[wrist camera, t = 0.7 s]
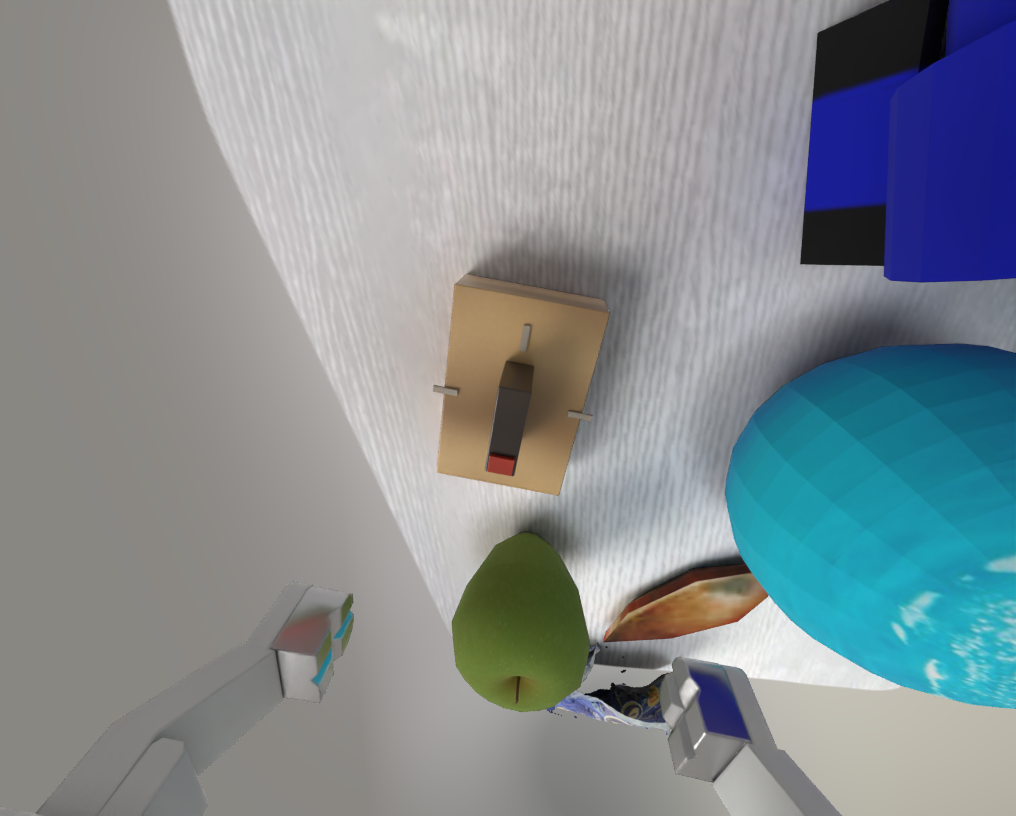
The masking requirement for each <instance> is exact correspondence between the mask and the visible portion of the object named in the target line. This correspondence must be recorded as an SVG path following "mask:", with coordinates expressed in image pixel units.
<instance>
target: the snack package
mask: <svg viewBox="0 0 1016 816" xmlns="http://www.w3.org/2000/svg"><path fill="white" fill-rule="evenodd" d="M600 648H601V647H600V645H599V644H598V642H597V645H596V646H592V647H590V650H589V655H588V659H587V664H586V667H585V671H584V675H583V678H582V682H583V681H584V680H585V679H586V677H587V675H588V673H589V672H590V671H591V669H592V667H593V664H594V659H595V654H597V653H598V652H599V651H600ZM606 648H608V647H607V646H606ZM600 657H601V656H600ZM622 658H624V656H622ZM625 671H626V670H623V671H621V673H623V672H625ZM666 674H669V673H666ZM666 674H663V675H661V676H660V677H658V678H657V679H656V680H654V681H653V682H652V683H651V684H649V685H647V686H644V687H636V688H634V687H629V686H624V685H625V684H624V683H623V685H615V684H614V683H611V686H612V687H611V688H610V690H607V689H606V690H604V689H599V690H597V691H594V692H592V693H588V694H587V693H586V694H583V693H582V692H578V691H577V690H575V691H574V692H573V693H571V694H570V695H568V696H567V697H566V698H564V699H563V700H562V701H561V702H559V703H558V704H557V705H555V706H554V707H551V708H547V710H548V711H549V712H550V710H551V712H552V711H553V710H554V709H555V707H558V708H561V709H565V710H567V711H570V712H576V713H581V714H583V715H586V716H589V717H591V718H594V719H598V720H601V721H606V722H610V723H620V724H625V725H632V726H638V727H645V728H647V729H648V728H654V727H658V728H660V729H661V730H663V731H666V732H667V733H666V735H670V729H671V728H670V727H669V725H668V724H667V722H666V721H665V720H664V718H663V715H662V710H661V705H660V689H661V683H662V681H663V679H664V677H665V675H666ZM582 682H581V683H582ZM551 712H550V713H551ZM552 713H553V712H552ZM558 715H559V714H558ZM575 718H577V717H576V716H575Z"/></svg>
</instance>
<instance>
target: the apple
mask: <svg viewBox="0 0 1016 816" xmlns="http://www.w3.org/2000/svg"><path fill="white" fill-rule="evenodd" d="M452 633H453V643H454V652H455V662H456V667H457V668H458V670H459V671H460V673H461V675H462V676H463V678H464V679H465V681H466V682H467V683H468V684H469V685H470V686H471V687H472V688H473V689H474V690H475V691H476V692H477V693H478V694H480V695H481V696H482V697H484V698H485V699H487V700H488V701H490V702H492V703H494V704H497V705H499V706H501V707H503V708H507V709H511V710H515V711H519V712H528V711H540V710H543V709H547V708H551V707H554V706H555V705H557V704H558V703H559V702H561V701H562V700H563V699H564V698H566V697H567V696H568V695H570V694H571V693H573V692H574V691H575V690H577V689H578V688H579V687H580V685H581V682H582V678H583V675H584V671H585V667H586V664H587V659H588V655H589V650H590V640H589V636H588V631H587V627H586V622H585V618H584V613H583V609H582V604H581V600H580V595H579V591H578V588H577V586H576V585H575V583H574V581H573V579H572V577H571V575H570V573H569V572H568V570H567V568H566V566H565V564H564V562H563V560H562V559H561V557H560V555H559V554H558V553H557V552H556V551H555V549H554V548H553V547H552V546H551V545H550V544H548V543H547V542H546V541H545V540H543V539H542V538H541V537H539V536H538V535H536V534H535V533H530V532H524V533H520V534H517V535H515V536H513V537H511V538H508V539H506V540H504V541H503V542H501V543H499V544H497V545H495V547H494V548H493V550H492V551H491V552H490V554H489V555H488V557H487V558H486V559H485V561H484V562H483V564H482V565H481V566H480V568H479V569H478V570H477V572H476V573H475V575H474V576H473V577H472V579H471V580H470V582H469V583H468V584H467V586H466V588H465V591H464V593H463V595H462V598H461V600H460V603H459V605H458V608H457V610H456V612H455V615H454V617H453V620H452Z"/></svg>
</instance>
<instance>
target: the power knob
mask: <svg viewBox="0 0 1016 816" xmlns="http://www.w3.org/2000/svg"><path fill="white" fill-rule="evenodd" d="M533 376H534V366H533V365H528V364H522V363H517V362H512V361H506V362H505V365H504V368H503V372H502V375H501V379H500V382H499V386H498V391H497V397H496V403H495V409H494V415H493V421H492V427H491V434H490V440H489V446H488V452H487V458H486V464H485V471H487V472H491V473H496V474H502V475H507V476H514V475H515V471H516V466H517V461H518V456H519V452H520V447H521V442H522V437H523V432H524V428H525V423H526V418H527V413H528V409H529V404H530V399H531V394H532V385H533Z"/></svg>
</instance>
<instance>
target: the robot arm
mask: <svg viewBox="0 0 1016 816" xmlns="http://www.w3.org/2000/svg"><path fill="white" fill-rule="evenodd" d="M352 604H353V594H351V593H347V592H342V591H337V590H332V589H327V588H322V587H318V586H313V585H310V584H304V583H299V582H293V581H292V582H291V583H289V584H288V585H287V586H286V587H285V588H284V589H283V591H282V592H281V594H280V595H279V597H278V598H277V600H276V601H275V602H274V604H273V605H272V607H271V608H270V609H269V611H268V613H267V614H266V615H265V617H264V618H263V620H262V621H261V622H260V624H259V625H258V627H257V628H256V630H255V631H254V632H253V634H252V635H251V637H250V638H249V640H248V641H247V642H246V644H240V643H239V644H237V645H235V646H234V647H232V648H231V649H229V650H228V651H226V652H224V653H223V654H221V655H220V656H218V657H216V658H215V659H213V660H212V661H210V662H209V663H207V664H206V665H204V666H202V667H201V668H199V669H198V670H196V671H194V672H193V673H191V674H190V675H188V676H187V677H185V678H183V679H182V680H180V681H179V682H177V683H175V684H174V685H172V686H171V687H169V688H168V689H166V690H164V691H163V692H161V693H160V694H158V695H157V696H155V697H153V698H152V699H150V700H149V701H147V702H146V703H144V704H142V705H141V706H139V707H138V708H136V709H134V710H133V711H131V712H130V713H128V714H126V715H125V716H123V717H122V718H120V719H119V720H117V721H115V722H114V723H112V724H111V725H110V726H109V727H108V729H107V730H106V731H105V732H104V733H103V734H102V736H101V737H100V738H99V739H98V740H97V742H96V743H95V744H94V745H93V746H92V748H91V749H90V750H89V751H88V752H87V753H86V755H85V756H84V757H83V758H82V759H81V760H80V762H79V763H78V764H77V765H76V766H75V767H74V769H73V770H72V771H71V772H70V773H69V775H68V776H67V777H66V778H65V779H64V781H63V782H62V783H61V784H60V785H59V786H58V787H57V789H56V790H55V791H54V792H53V793H52V795H51V796H50V797H49V798H48V799H47V800H46V802H45V803H44V804H43V805H42V806H41V808H40V809H39V810H38V811H37V812H36V813H35V814H34V813H30V812H25V811H20V810H15V809H10V808H5V807H0V816H203V814H204V812H205V810H206V809H207V807H208V804H207V797H206V794H205V792H204V790H203V787H202V785H201V782H200V780H199V778H198V776H199V775H200V774H201V773H202V772H203V771H204V770H205V769H207V768H208V767H209V766H210V765H211V764H212V763H213V762H214V761H215V760H217V759H218V758H219V757H220V756H221V755H222V754H223V753H225V752H226V750H228V749H229V748H230V747H231V746H232V745H234V744H235V743H236V742H237V741H238V740H239V739H240V738H241V737H242V736H244V735H245V734H246V733H247V732H248V731H249V730H250V729H251V728H253V727H254V726H255V725H256V724H257V723H258V722H259V721H260V720H262V719H263V718H264V717H265V716H266V715H267V714H268V713H269V712H271V711H272V710H273V709H274V708H275V707H276V706H277V705H278V704H280V703H281V702H282V701H283V698H289V699H296V700H302V701H308V702H314V703H320V702H321V700H322V698H323V696H324V694H325V692H326V689H327V687H328V685H329V683H330V681H331V679H332V677H333V675H334V666H333V662H334V661H335V660H336V659H338V658H339V657H340V656H342V655H343V653H344V650H345V648H346V646H347V644H348V641H349V638H350V635H351V632H352V628H353V622H354V614H353V613H352V612H351V611H350V608H351V606H352ZM672 668H673V672H671V673H669V674H666V675H665V677H664V679H663V681H662V683H661V689H660V705H661V710H662V715H663V718H664V720H665V721H666V722H667V724H668V725H669V727H670V728H671V729H672V731H671V733H670V735H669V738H668V743H669V747H670V752H671V756H672V761H673V765H674V770H675V774H678V775H682V776H686V777H691V778H695V779H700V780H704V781H708V782H713V784H712V786H713V787H714V789H715V790H716V792H717V793H718V795H719V797H720V798H721V800H722V802H723V803H724V805H725V806H726V808H727V810H728V811H729V813H730V814H731V816H842V815H841V814H840V813H839V812H838V811H837V810H836V809H835V808H834V806H833V805H832V804H831V803H830V802H829V801H828V800H827V798H826V797H825V796H824V795H823V794H822V793H821V792H820V791H819V790H818V788H817V787H816V786H815V785H814V784H813V783H812V782H811V780H810V779H809V778H808V777H807V776H806V775H805V774H804V772H803V771H802V770H801V769H800V768H799V767H798V766H797V765H796V763H795V762H794V761H793V760H792V759H791V758H790V757H789V755H788V754H787V753H786V752H785V751H784V750H780V749H777V747H776V744H775V742H774V739H773V737H772V735H771V732H770V730H769V728H768V725H767V723H766V720H765V718H764V716H763V713H762V711H761V708H760V706H759V704H758V702H757V699H756V697H755V694H754V692H753V689H752V687H751V685H750V682H749V680H748V678H747V675H746V674H745V672H744V671H743V670H742V669H740V668H737V667H731V666H726V665H720V664H718V663H713V662H707V661H701V660H696V659H690V658H684V657H677V658H675V660H674V661H673V663H672Z"/></svg>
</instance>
